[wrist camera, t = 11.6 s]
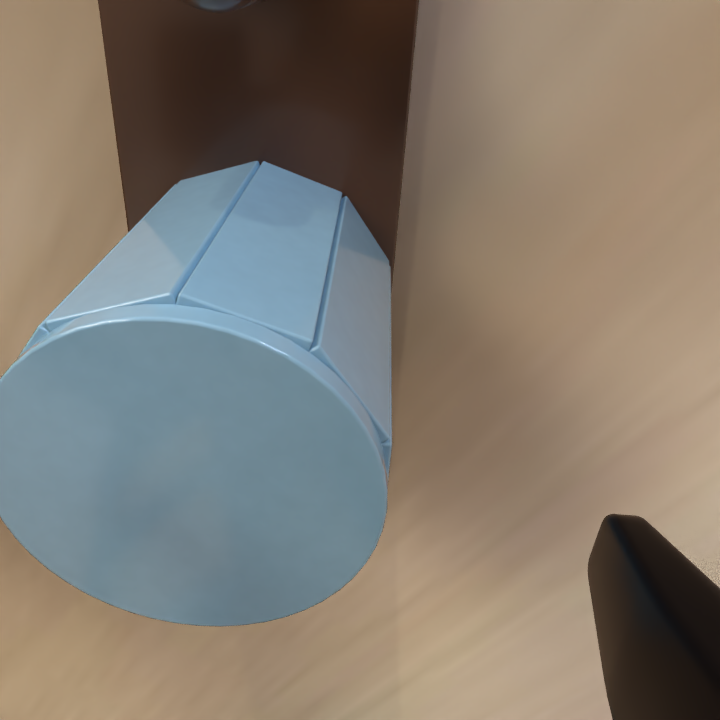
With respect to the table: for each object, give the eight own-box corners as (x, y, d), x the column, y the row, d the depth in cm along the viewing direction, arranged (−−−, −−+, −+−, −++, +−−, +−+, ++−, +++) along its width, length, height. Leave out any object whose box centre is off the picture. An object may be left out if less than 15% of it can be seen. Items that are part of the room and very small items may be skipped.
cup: (399, 170, 16) (408, 326, 9) (377, 406, 20) (372, 644, 13) (121, 150, 16) (-80, 292, 9) (152, 390, 20) (26, 619, 13)
